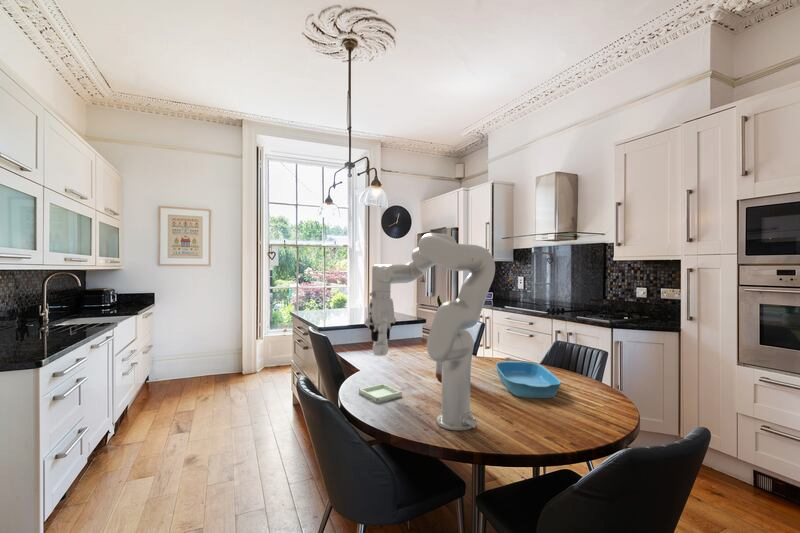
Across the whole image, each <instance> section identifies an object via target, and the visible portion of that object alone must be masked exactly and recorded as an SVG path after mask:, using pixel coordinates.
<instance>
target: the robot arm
mask: <svg viewBox="0 0 800 533" xmlns="http://www.w3.org/2000/svg"><path fill="white" fill-rule="evenodd" d="M411 260H412V261H410V262H408V263H404V264H403V263H402V264H401V263H400V264H399V263H397V264H396V263H393V264H391V263H389V264H388V263H387V264H374V265H373V266H372V268H371V292H370V293H369V296H370V297H371V298H370V300H369V306H368V314H367V315H368V317H367V319H365V321H364V325H365V326H367V328H368V329H369V331H370V332H371V342H374V341H375V342H377V336H378V332H377V331H376V330H377V324H382V320H383V318H387V319H388V322H387V323H388V328H387V341H389V340H390V339H391V338H390V337H391V330H392V327H393V326H394V325H395V323H396V322H397V319H396V317H395V309H394V301H393V298H391V292H392V290H391V285H392V284H408V283H411V282H413V281H415V280H418V279H419V278H421V277H423V276H424V275H425V274H426V273H427V270H429V269H430V268H432V267H434V266H436V265H439V266H441V267H443V268H445V269H448V270H450V271H454V272H469V273H468V275H467V277H466V278H465V279H464V281H463V283H462V284H461V287H460V291H459V293H458V296H457V298H456V299H455V300H449V301H448V300H447V301H445V302H443V303H442V304H440V306H438V307H437V310H436V312H435V315H434V318H433V320H432V323H431V326H430V329H429V333H428V337H427V338H426V339H427V340H426V352H427V354H428V357H430V359H431V360H433V361H434V362H438V363H442V366H441V414H439V415H438V416H437V417H436V423H437V425H438V426H439V427H441V428H443V429H446V430H451V431H467V430H470V429H472V428H476V426H477V424H478V423H479V419H478V418H475V417H473V411H471V369H472V367H471V366H472V357H473V353H474V339H473V336H472V334H471V333H470V332H469V330H467V329H470V328H473V327H475V326H476V325H477V324H478V322H479V320H480V316H481V315H482V314H481V313H482V311H483V309H484V305H485V302H486V299H487V296H488V295H489V294H488V293H489V291H490V288H491V285H492V283H493V281H494V278H495V272H496V263H495V260H494V257H493V255H492V254H491V252H490V251H489V250H488V249H487V248H486V247H483V246H480V245H477V244H467V243H465V244H464V243H457V241H456V239H455V238H454V237H453V236H451V235H449V234H446V233H439V232H438V233H437V232H427V233H425V234H424V235H423V236H421V238H420V239H419V240H418V246H417V248H415V249H413V251H412V253H411Z"/></svg>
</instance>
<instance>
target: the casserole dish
mask: <svg viewBox="0 0 800 533" xmlns="http://www.w3.org/2000/svg"><path fill="white" fill-rule="evenodd" d="M495 367H496V371H497V374H498V377H499V379H500V380H501V382H502V383H503V384H504V386H505V388H506V389H507V391H509V392H510V393H511V394H512V395H514V396H515V397H518V398H524V399H549V398H550V399H551V398H553V397H555V396H556V395H557V393H558V391H559V388H560V386H561V384H562V381H561V380H560V379H559V378H558V377H557V376H556V375H555V374H553V373H552V372H551V371H550V370H549V369H547V368H546V367H545V366H543V365H541V364H538V363H534V362H529V361H520V360H508V361H499V362H496V363H495Z"/></svg>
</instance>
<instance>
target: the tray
mask: <svg viewBox="0 0 800 533" xmlns="http://www.w3.org/2000/svg"><path fill="white" fill-rule="evenodd" d="M402 394H403V392H402V391H401V390H399V389H397V388H394V387H392V386H389V385H388V384H385V383H378V384H376V385H371V386H367V387H362V388H358V395H360V396H362V397H364V398H366V399H368V400H369V401H372V402H374V403H376V404H379V403H383V402H388V401H390V400H395V399H398V398H402V397H403V395H402Z"/></svg>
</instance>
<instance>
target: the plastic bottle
mask: <svg viewBox="0 0 800 533" xmlns="http://www.w3.org/2000/svg"><path fill="white" fill-rule="evenodd" d="M387 322H388V319H387V318H383V320H382V324H377V330H376V331H377V332H378V336H377V342H375V341H373V344H372V353H373V355H374V356H377V357H383V356H387V355H388V354H389V344H388V340H387V328H388V323H387Z"/></svg>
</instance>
